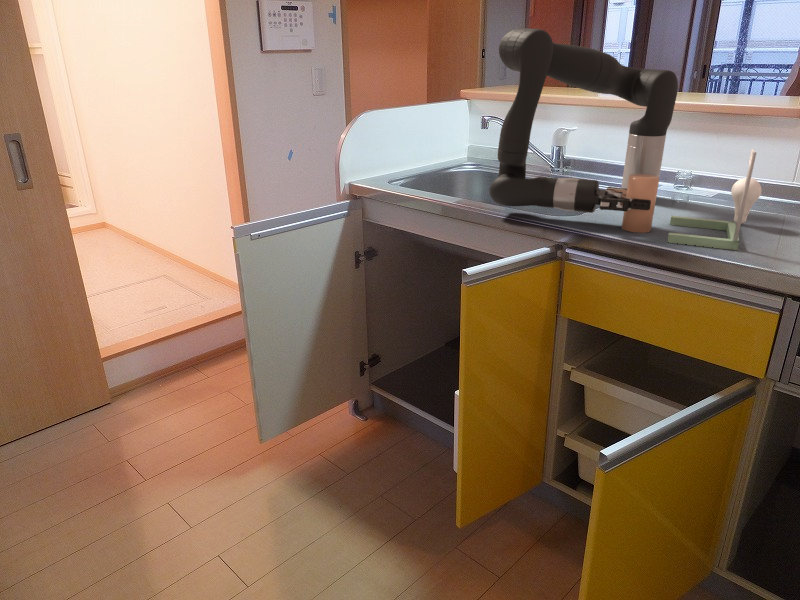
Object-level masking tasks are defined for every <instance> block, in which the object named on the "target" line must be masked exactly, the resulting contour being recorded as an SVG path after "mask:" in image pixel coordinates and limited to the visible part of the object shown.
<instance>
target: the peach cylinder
mask: <svg viewBox="0 0 800 600" xmlns="http://www.w3.org/2000/svg"><path fill="white" fill-rule="evenodd" d="M659 183H660V176H659V177H658V176H655V175H649V174H631V175H629V179H628V186H627V193H626V197H629V198H633V199H645V200H650V201H651V206H650V209H649V210H639V209H632V208H631V210H628V211H626V212H624V211H623V216H622V223H621V229H622V230H623V231H627V232H631V233H636V232H637V233H636V234H638V233H639V234H641V233H643V234H644V233H649V232H651V231H652V226H653V220H654V214H655V207H656V202H657V195H658V189H659Z"/></svg>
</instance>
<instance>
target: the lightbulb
mask: <svg viewBox="0 0 800 600" xmlns="http://www.w3.org/2000/svg"><path fill="white" fill-rule="evenodd" d="M745 182H746V177H743V178H740V179H738V180H737V181H736V182H735V183H733V185H732V187H731V191H730V192H731V197H732V201H733V203H734V218H733V222H735V224H737V219H738V215H739V210H740V205H741V201H742V196H743V191H744V187H745ZM761 195H762V186H761V184H760V182H759V181H758V180H757V179H755V178H753V177H751V180H750V185H749V189H748V194H747V198H746V203H745V208H744V212H743V217H742V221H741V225H743V224H745V223H746V222H747V219H748V215H749V214H750V212H751V209H752V207H753V205H754V204H755V202H757V201H758V200H759V198H760V197H761Z"/></svg>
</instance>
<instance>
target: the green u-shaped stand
mask: <svg viewBox="0 0 800 600" xmlns="http://www.w3.org/2000/svg"><path fill="white" fill-rule="evenodd" d="M756 156H757V152H756V151H755V150H754V148H751V150H750V155H749V161H748V167H747V173H746V177H745V178H746V182H745V187H744V191H743V196H742V201H741V205H740V210H739V215H738V219H737V223H736V222H735V221H730V220H722V219H721V220H719V219H709V218H699V217H689V216H688V217H687V216H681V215H680V216H678V215H671V216H670V221H669V222H670V223H669V225H671V226H680V227H688V228H689V227H690V228H699V229H711V230H719V231H720V230H721V231H726V236H727V238H724V237H723V238H722V237H713V236H705V235H695V234H687V233H685V234H684V233H676V232H668V235H667V243H668V242H669V243H670V244H677V243H678V245H685V244H687V246H694V245H696V246H697V247H703V246H704V247H705V248H712V247H713V248H714V249H715V248H716V249H722V250H730V251H731V250H732V251H738V250H739V247H740V246H739V245H740V239H739V234H740V229H741V227H742V226H741V225H742V224H741V221H742V217H743V212H744V208H745V203H746V198H747V194H748V189H749V185H750V180H751V178H752V175H753V170H754V166H755V160H756V158H757V157H756ZM696 246H695V247H696Z"/></svg>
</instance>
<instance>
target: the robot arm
mask: <svg viewBox="0 0 800 600" xmlns="http://www.w3.org/2000/svg"><path fill="white" fill-rule="evenodd" d="M498 53H499V57H500V61H502V64H503V65H504V66H505V67H506V68H508V69H509V70H511V71H513V72H519V81H518V82H519V84H518V89H517V92H516V95H515V97H514V100H513V102H512V105H511V107H510V108H509V110H508V111H507V113H506V116H505V118H504V119H503V122H502V125H501V128H500V133H499V134H500V135H499V141H498V148H497V160H498V162H499V168H498V174H497V177H496V178H495V179H494V180H493V181H492V182H491V184H490V187H489V195H490V198H491V199H492V201H494V202H495V203H496V204H498V205H500V206H505V207H530V206H531V207H532V206H533V207H542V208H551V209H558V210H562V211H569V212H578V213H579V212H580V213H590V214H592V213H594V212H596V207H597V206H599V210H601V211H602V210H604V211H616V212H623V213H624V212H626V211H628V210H631V208H632V209H639V210H649V209H650V206H651V201H650V200H645V199H633V198H629V197H626V193H627V186H628V179H629V175H631V174H649V175H655V176H658V177H659V178H660V175H661V169H662V165H663V164H662V162H663V157H664V150H665V143H666V139H667V133H668V131H667V130H668V128H669V127H670V125H671V122H672V119H673V114H674V110H675V105H676V101H677V96H678V89H679V80H678V77H677V75H676V73H675V72H673V71H672V70H668V69H654V68H653V69H652V68H636V67H635V68H634V67H631V66H627V65H626V66H625V65H622V63H620V62H619V61H618V59H617V58H615V57H614V56H612V55H611V54H610V53H609V54H608V53H606V52H604V51H600V50H597V49H595V48H590V47H586V46H581V45H579V46H578V45H575V44H574V45H573V44H563V43H557V42H553V39H552V37H551V35H550V34H549V33H548V32H547V31H546V30H545V29H542V28H541V29H540V28H530V27H529V28H528V27H527V28H526V27H520V28H519V27H518V28H514V29H513V30H510V31H508V32H507V33H506V34H505V35H504V36H503V37H502V38H501V40H500V43H499V46H498ZM547 77H549V78H552V79H554V80H556V81H558V82H560V83H563V84H566V85H568V86H571V87H574V88H577V89H580V90H584V91H588V92H591V93H596V94H602V95H603V94H604V95H612V96H616V97H618V98H620V99H622V100H625V101H627V102H629V103H632V104H633V105H636V106H639V107H646V108H645V109H646V110H645V113H644V115H643V116H642V117H641V118H640V119H637V120H634V121H632V122H631V123H630V125H629V130H628V139H627V145H626V151H625V161H624V166H623V167H624V168H623V173H622V182H621V187H616V186H607V188H606V189H600V182H599V180H596V179H584V178H573V177H571V178H570V177H563V178H561V177H549V176H548V177H546V176H540V177H534V178H526V175H527V174H526V173H527V163H526V162H527V156H528V152H529V147H530V139H531V133H532V127H533V123H534V119H535V114H536V111H537V108H538V105H539V102H540V100H541V99H540V98H541V94H542V92H543V88H544V85H545V82H546V79H547Z"/></svg>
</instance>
